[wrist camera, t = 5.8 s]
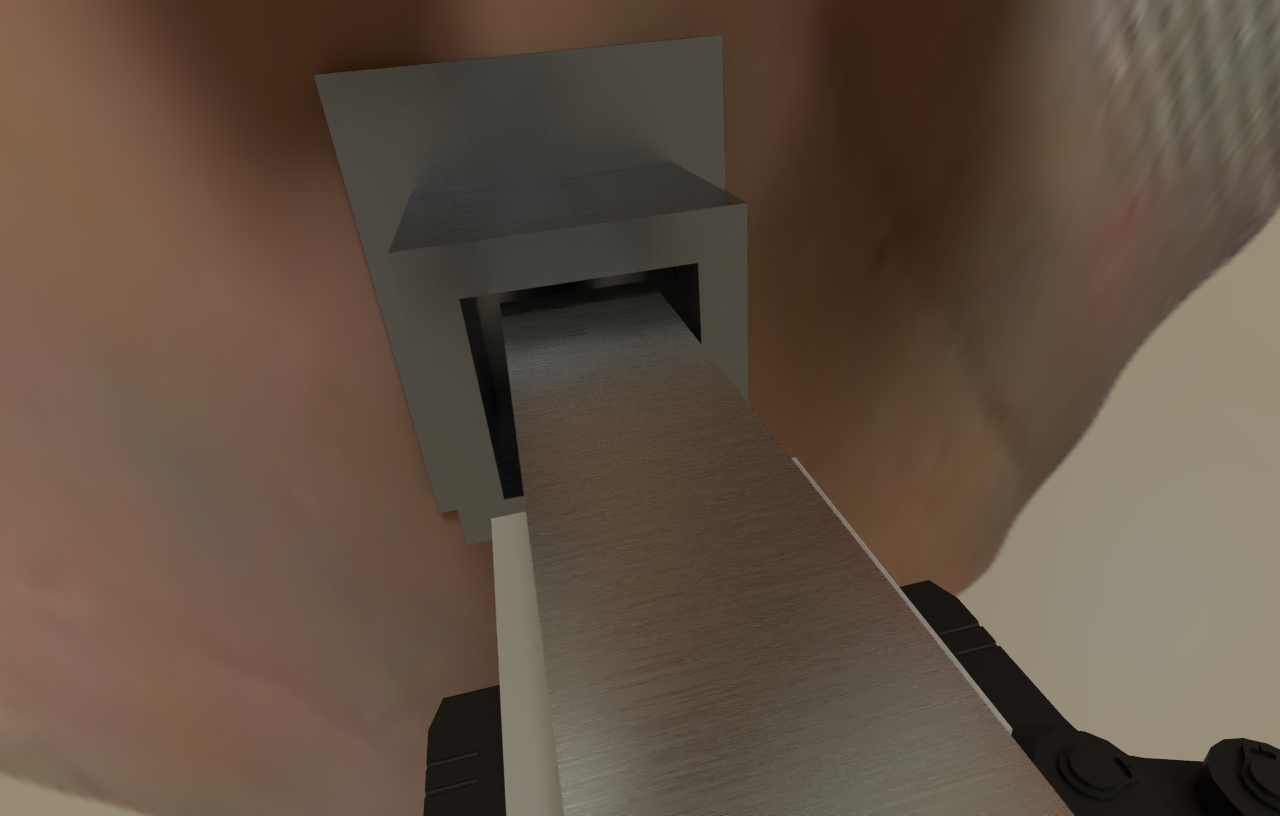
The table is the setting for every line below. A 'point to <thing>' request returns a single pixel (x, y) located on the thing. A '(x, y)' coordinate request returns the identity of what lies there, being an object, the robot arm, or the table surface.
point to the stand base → (533, 223)
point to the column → (720, 599)
